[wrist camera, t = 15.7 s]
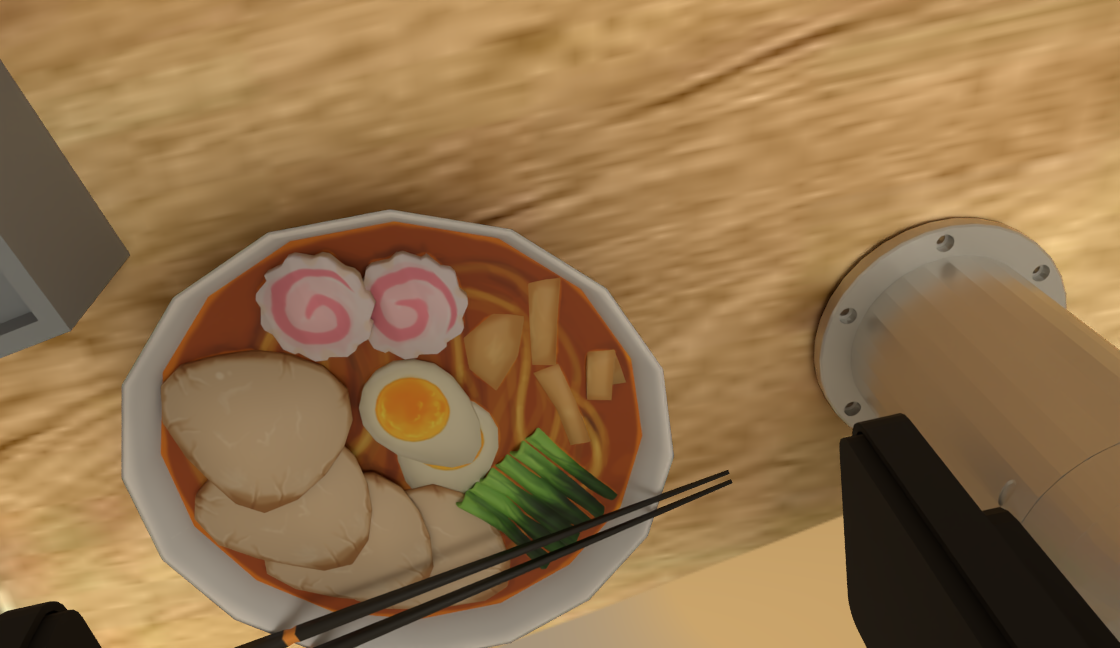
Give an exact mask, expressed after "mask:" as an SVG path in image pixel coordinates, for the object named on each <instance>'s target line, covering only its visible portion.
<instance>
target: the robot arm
mask: <svg viewBox="0 0 1120 648" xmlns="http://www.w3.org/2000/svg"><path fill="white" fill-rule="evenodd" d="M814 364H815V370H816V375H817V380H818V383H819V385H820V387H821V389H822V392H823V394H824V396H825V398H826V399H827V401H828V402H829V404H830V405H831V407H832V408H833V410H834V411H835V413H836V414H837V415H838V416H839V417H840V418H841V419H842V420H843V421H844V422H845V423H846V424H847V425H848V426H849V427H851V428H852V429H853V431H852V436H851V437H846V438H842V439H841V440H840V466H841V483H842V501H843V518H844V536H845V553H846V571H847V588H848V601H849V606H850V610H851V614H852V617H853V620H854V622H855V625H856V627H857V629H858V631H859V633H860V635H861V637H862V639H863V641H864V643H865V645H866V647H867V648H1120V350H1119V349H1118V348H1116V347H1115V346H1114V345H1112V344H1111V343H1110V342H1108V341H1107V340H1106V339H1104V338H1103V337H1102V336H1100V335H1099V334H1098V333H1097V332H1095V331H1094V330H1093V329H1091V328H1090V327H1089V326H1087V325H1086V324H1085V323H1083V322H1082V321H1081V320H1079V319H1078V318H1077V317H1076V316H1074V315H1073V314H1072V313H1070V312H1069V311H1068V310H1067V307H1066V292H1065V288H1064V284H1063V280H1062V276H1061V274H1060V272H1059V270H1058V269H1057V267H1056V265H1055V263H1054V261H1053V260H1052V258H1051V257H1050V256H1049V255H1048V254H1047V253H1046V252H1045V251H1044V250H1043V249H1042V248H1041V247H1040V246H1039V245H1038V244H1037V243H1036V242H1035V241H1033V240H1032V239H1030V238H1029V237H1027V236H1026V235H1024V234H1023V233H1022V232H1020V231H1018V230H1016V229H1014V228H1011V227H1009V226H1007V225H1005V224H1003V223H1000V222H995V221H990V220H986V219H981V218H952V219H946V220H940V221H935V222H930V223H927V224H924V225H921V226H918V227H916V228H913V229H910V230H907V231H905V232H903V233H901V234H899V235H897V236H896V237H894V238H892V239H890V240H888V241H886V242H885V243H883V244H881V245H880V246H879V247H877V248H876V249H875V250H874V251H872V252H871V253H870V254H868V255H867V256H866V257H864V258H863V259H862V260H861V261H860V262H859V263H858V264H857V265H856V266H855V267H854V268H853V269H852V270H851V271H850V272H849V273H848V274H847V275H846V276H845V278H844V279H843V280H842V282H841V283H840V285H839V286H838V287H837V289H836V290H835V292H834V293H833V295H832V296H831V298H830V299H829V301H828V304H827V306H826V308H825V310H824V312H823V315H822V317H821V319H820V322H819V326H818V330H817V334H816V338H815V348H814ZM0 648H101V646H100V644H99V643H98V641H97V640H96V638H95V636H94V635H93V633H92V632H91V630H90V628H89V627H88V625H87V624H86V622H85V620H84V619H83V617H82V616H81V615H80V614H79V612H77V611H75V610H67V609H66V608H65V607H64V605H63V604H61V603H59V602H57V601H53V602H46V603H41V604H37V605H32V606H28V607H23V608H19V609H14V610H10V611H6V612H4V613H3V614H1V615H0Z"/></svg>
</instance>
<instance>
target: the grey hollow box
mask: <svg viewBox="0 0 1120 648" xmlns="http://www.w3.org/2000/svg"><path fill="white" fill-rule="evenodd" d="M129 256H130V254H129V252H128V251H127V249H126V248H125V246H124V245H123V243H122V242H121V240H120V239H119V237H118V236H117V234H116V233H115V231H114V230H113V228H112V227H111V225H110V224H109V222H108V221H107V219H106V218H105V216H104V215H103V213H102V212H101V210H100V209H99V207H98V206H97V204H96V203H95V201H94V200H93V198H92V197H91V195H90V194H89V192H88V191H87V189H86V187H85V186H84V184H83V183H82V181H81V180H80V178H79V177H78V175H77V174H76V172H75V171H74V169H73V168H72V166H71V165H70V163H69V162H68V160H67V159H66V157H65V156H64V154H63V153H62V151H61V150H60V148H59V147H58V145H57V144H56V142H55V141H54V139H53V138H52V136H51V135H50V133H49V132H48V130H47V129H46V127H45V126H44V124H43V123H42V121H41V120H40V118H39V117H38V115H37V114H36V112H35V111H34V109H33V108H32V106H31V105H30V103H29V102H28V100H27V99H26V97H25V96H24V94H23V93H22V91H21V90H20V88H19V87H18V85H17V84H16V82H15V81H14V79H13V78H12V76H11V75H10V73H9V72H8V70H7V69H6V67H5V66H4V64H3V63H2V61H1V60H0V358H2V357H5V356H7V355H10V354H13V353H15V352H18V351H20V350H23V349H25V348H28V347H30V346H33V345H36V344H38V343H41V342H43V341H46V340H48V339H51V338H53V337H56V336H59V335H61V334H64V333H66V332H69V331H71V330H72V329H73V327H74V326H75V325H76V323H77V322H78V321H79V320H80V318H81V317H82V316H83V315H84V313H85V312H86V311H87V309H88V308H89V307H90V306H91V304H92V303H93V302H94V300H95V299H96V298H97V297H98V295H99V294H100V293H101V291H102V290H103V289H104V288H105V286H106V285H107V284H108V283H109V281H110V280H111V279H112V277H113V276H114V275H115V274H116V272H117V271H118V270H119V268H120V267H121V266H122V265H123V263H124V262H125V261H126V260H127V258H128V257H129Z"/></svg>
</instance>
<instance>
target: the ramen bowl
mask: <svg viewBox="0 0 1120 648" xmlns="http://www.w3.org/2000/svg"><path fill="white" fill-rule="evenodd" d="M673 458H674V452H673V444H672V436H671V429H670V421H669V413H668V405H667V397H666V389H665V381H664V373H663V368H662V367H661V366H660V364H659V363H658V361H657V360H656V358H655V357H654V356H653V354H652V353H651V351H650V350H649V348H648V347H647V346H646V344H645V343H644V341H643V340H642V338H641V337H640V336H639V334H638V333H637V331H636V330H635V328H634V327H633V325H632V324H631V323H630V321H629V320H628V318H627V317H626V315H625V314H624V313H623V311H622V310H621V308H620V307H619V305H618V304H617V303H616V301H615V300H614V298H613V297H612V295H611V294H610V293H609V291H608V290H607V289H606V288H605V287H603V286H602V285H600V284H598V283H597V282H595V281H594V280H592V279H590V278H589V277H587V276H586V275H584V274H582V273H581V272H579V271H578V270H576V269H574V268H573V267H571V266H570V265H568V264H566V263H565V262H563V261H561V260H560V259H558V258H557V257H555V256H553V255H552V254H550V253H549V252H547V251H545V250H544V249H542V248H541V247H539V246H537V245H536V244H534V243H533V242H531V241H529V240H528V239H526V238H524V237H523V236H521V235H520V234H518V233H516V232H515V231H513V230H512V229H506V228H500V227H494V226H488V225H482V224H476V223H470V222H464V221H458V220H452V219H445V218H439V217H433V216H427V215H421V214H415V213H409V212H403V211H397V210H391V209H389V210H384V211H378V212H373V213H368V214H363V215H357V216H352V217H347V218H342V219H337V220H331V221H326V222H321V223H316V224H310V225H305V226H300V227H295V228H289V229H284V230H279V231H274V232H268V233H266V234H265V235H264V236H262V237H261V238H259V239H258V240H256V241H255V242H253V243H252V244H250V245H249V246H247V247H246V248H245V249H243V250H242V251H240V252H239V253H237V254H236V255H234V256H233V257H231V258H230V259H228V260H227V261H226V262H224V263H223V264H221V265H220V266H218V267H217V268H215V269H214V270H212V271H211V272H210V273H208V274H207V275H205V276H204V277H202V278H201V279H199V280H198V281H196V282H195V283H193V284H192V285H191V286H189V287H188V288H186V289H185V290H183V291H182V292H180V293H179V294H177V295H176V296H175V297H173V299H172V300H171V302H170V304H169V305H168V307H167V309H166V310H165V312H164V314H163V316H162V317H161V319H160V321H159V322H158V324H157V326H156V328H155V329H154V331H153V333H152V334H151V336H150V338H149V340H148V341H147V343H146V345H145V346H144V348H143V350H142V351H141V353H140V355H139V357H138V358H137V360H136V362H135V363H134V365H133V367H132V369H131V370H130V372H129V374H128V375H127V377H126V379H125V381H124V382H123V384H122V480H123V482H124V484H125V486H126V488H127V490H128V492H129V494H130V496H131V498H132V500H133V502H134V504H135V506H136V508H137V510H138V512H139V514H140V516H141V518H142V520H143V522H144V524H145V526H146V528H147V530H148V532H149V534H150V536H151V538H152V540H153V542H154V544H155V546H156V548H157V550H158V552H159V554H160V556H161V558H162V560H163V561H164V562H166V563H167V564H168V565H169V566H170V567H172V568H173V569H174V570H175V571H176V572H178V573H179V574H180V575H181V576H182V577H184V578H185V579H186V580H187V581H189V582H190V583H191V584H192V585H193V586H195V587H196V588H197V589H198V590H199V591H201V592H202V593H203V594H204V595H205V596H207V597H208V598H209V599H210V600H211V601H213V602H214V603H215V604H216V605H218V606H219V607H220V608H221V609H222V610H224V611H225V612H226V613H227V614H228V615H230V616H231V617H232V618H233V619H235V620H237V621H240V622H242V623H245V624H247V625H250V626H252V627H255V628H257V629H260V630H263V631H265V632H268V633H270V634H271V635H268V636H265V637H263V638H260V639H257V640H254V641H252V642H249V643H246V644H243V645H240V646H238V647H235V648H286V647H288V646H290V645H291V644H293V643H296V644H298V645H301V646H303V647H306V648H488V647H493V646H498V645H503V644H508V643H512V642H513V641H515V640H517V639H519V638H521V637H523V636H524V635H526V634H528V633H530V632H532V631H533V630H535V629H537V628H539V627H541V626H543V625H544V624H546V623H548V622H550V621H552V620H553V619H555V618H557V617H559V616H561V615H562V614H564V613H566V612H568V611H570V610H572V609H573V608H575V607H577V606H579V605H581V604H582V603H584V602H586V601H588V600H590V598H591V597H592V596H593V595H594V594H595V593H596V592H597V591H598V590H599V589H600V588H601V586H602V585H603V584H604V583H605V582H606V581H607V580H608V579H609V578H610V577H611V576H612V574H613V573H614V572H615V571H616V570H617V569H618V568H619V567H620V566H621V565H622V563H623V562H624V561H625V560H626V559H627V558H628V557H629V556H630V555H631V554H632V553H633V551H634V550H635V549H636V548H637V547H638V546H639V545H640V544H641V543H642V542H643V541H644V539H645V538H646V537H647V536H648V533H649V530H650V527H651V524H652V521H653V518H654V517H656V516H658V515H660V514H663V513H665V512H667V511H670V510H672V509H674V508H676V507H679V506H681V505H683V504H686V503H688V502H690V501H693V500H695V499H697V498H699V497H702V496H704V495H706V494H709V493H711V492H713V491H715V490H718V489H720V488H722V487H725V486H727V485H729V484H732V480H731V479H730V480H728V481H725V482H723V483H720V484H718V485H715V486H713V487H710V488H708V489H706V490H703V491H701V492H698V493H696V494H693V495H691V496H688V497H686V498H683V499H681V500H678V501H676V502H673V503H671V504H668V505H666V506H663V507H661V508H658V509H657V506H658V503H659V501H661V500H664V499H666V498H669V497H672V496H674V495H677V494H679V493H682V492H684V491H687V490H689V489H692V488H695V487H697V486H700V485H702V484H705V483H707V482H710V481H712V480H715V479H717V478H720V477H723V476H725V475H728V474H730V473H729V471H728V470H726V471H724V472H721V473H718V474H715V475H713V476H710V477H707V478H704V479H701V480H699V481H696V482H693V483H690V484H688V485H685V486H682V487H679V488H676V489H674V490H671V491H668V492H665V493H663V494H662V491H663V488H664V485H665V482H666V479H667V476H668V473H669V470H670V467H671V464H672V461H673Z"/></svg>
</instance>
